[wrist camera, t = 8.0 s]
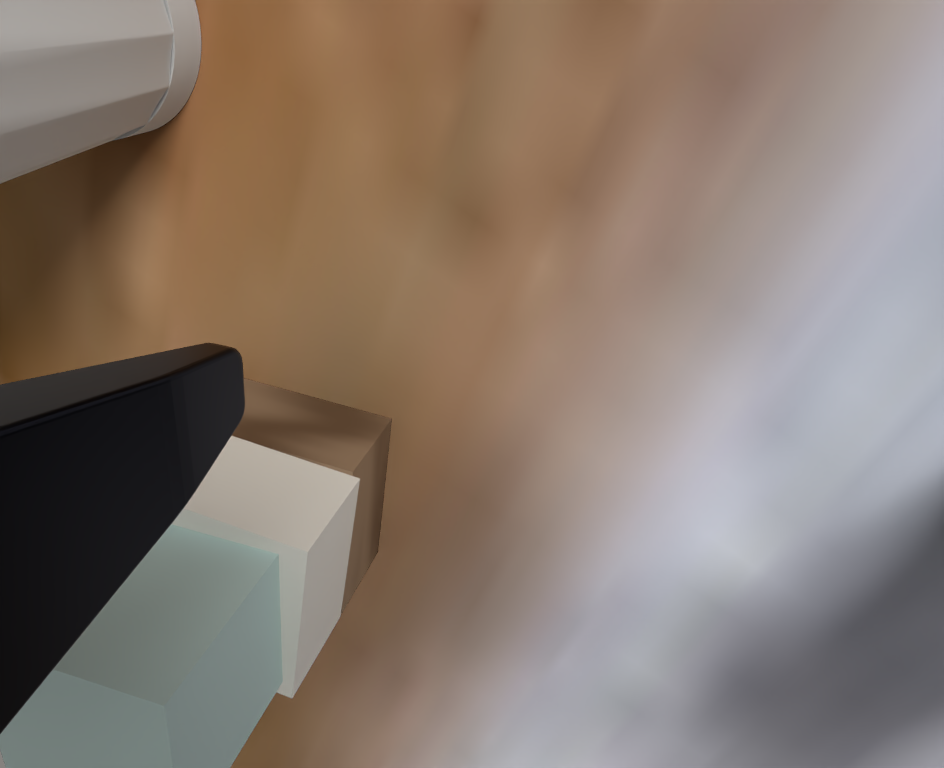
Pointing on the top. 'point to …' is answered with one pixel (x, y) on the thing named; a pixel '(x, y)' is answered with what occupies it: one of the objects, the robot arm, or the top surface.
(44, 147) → the cup
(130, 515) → the robot arm
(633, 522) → the top surface
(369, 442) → the walnut slab
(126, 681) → the painted cube
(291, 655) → the cream slab
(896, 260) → the top surface
